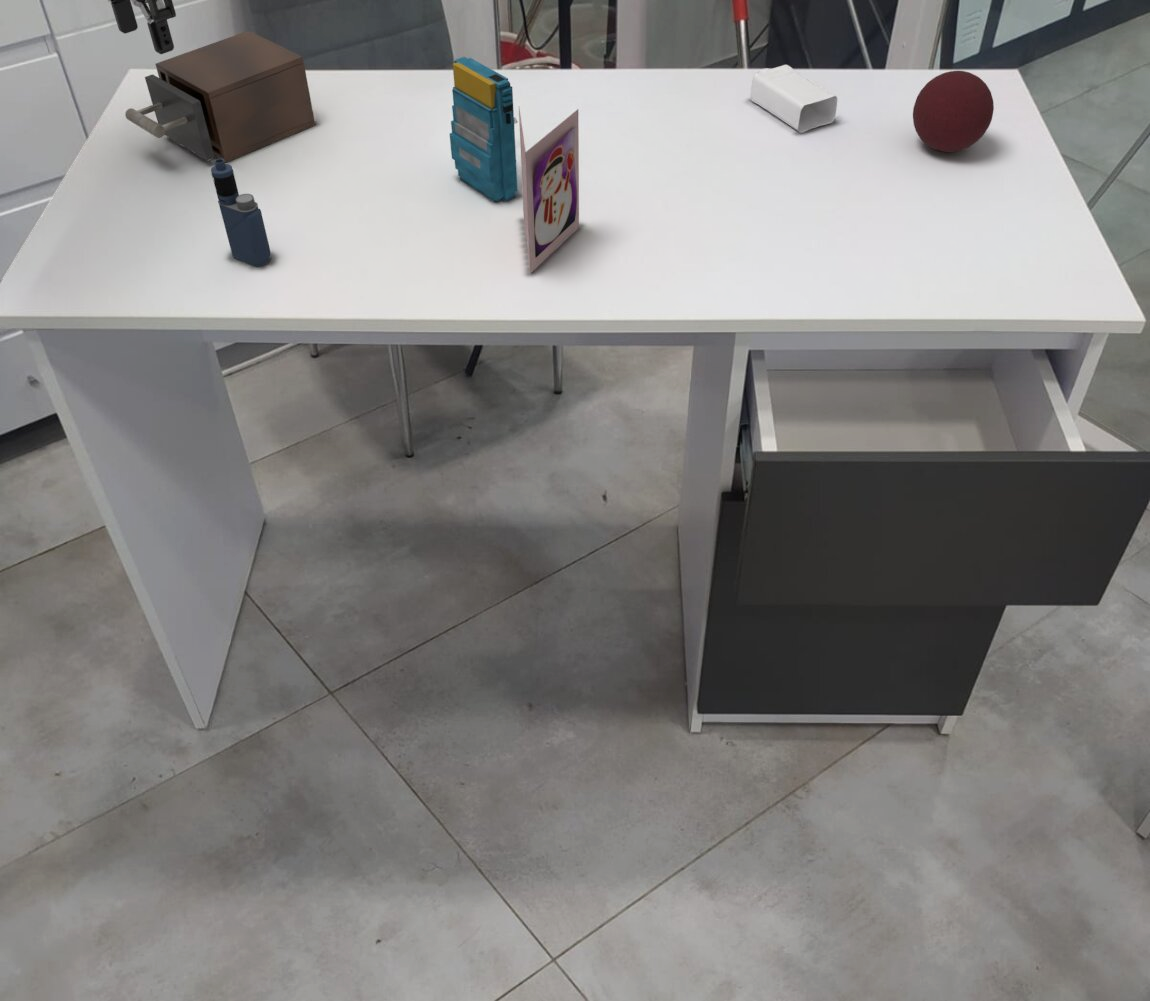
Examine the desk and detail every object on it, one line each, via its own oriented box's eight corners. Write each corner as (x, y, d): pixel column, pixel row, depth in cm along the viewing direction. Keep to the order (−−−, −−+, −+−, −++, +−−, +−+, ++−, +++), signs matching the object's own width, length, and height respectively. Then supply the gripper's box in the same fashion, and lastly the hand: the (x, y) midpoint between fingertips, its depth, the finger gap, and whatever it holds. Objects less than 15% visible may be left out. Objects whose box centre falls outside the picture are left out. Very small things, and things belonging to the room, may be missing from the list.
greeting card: (537, 275, 128) (532, 154, 117) (482, 258, 130) (473, 138, 120) (585, 228, 135) (585, 110, 124) (532, 213, 137) (528, 96, 127)
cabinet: (225, 163, 147) (208, 92, 140) (174, 132, 153) (154, 63, 146) (315, 125, 154) (302, 56, 147) (262, 97, 160) (248, 30, 154)
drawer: (173, 175, 143) (157, 117, 137) (127, 145, 149) (109, 89, 143) (292, 125, 152) (280, 69, 147) (244, 100, 158) (232, 45, 152)
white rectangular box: (778, 87, 161) (782, 58, 158) (834, 123, 153) (839, 93, 150) (741, 97, 159) (744, 68, 156) (796, 134, 151) (801, 104, 148)
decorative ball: (994, 143, 149) (1014, 70, 142) (964, 173, 143) (984, 99, 136) (924, 123, 153) (941, 51, 146) (893, 151, 148) (908, 78, 141)
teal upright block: (521, 196, 140) (516, 80, 130) (495, 207, 138) (487, 91, 128) (476, 167, 145) (467, 53, 135) (450, 177, 144) (439, 63, 133)
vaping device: (242, 246, 132) (219, 153, 124) (276, 258, 131) (254, 164, 122) (227, 256, 131) (202, 163, 122) (261, 269, 129) (238, 174, 120)
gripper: (44, -109, 127) (90, 34, 138) (107, -79, 119) (150, 68, 131) (104, -124, 130) (144, 16, 142) (168, -97, 123) (205, 48, 135)
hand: (147, 41), depth 136 cm, fingers open, 8 cm apart
